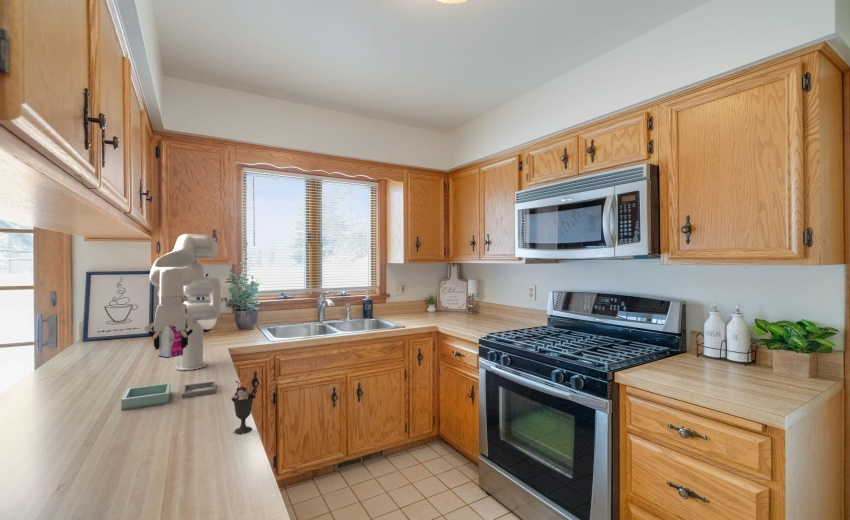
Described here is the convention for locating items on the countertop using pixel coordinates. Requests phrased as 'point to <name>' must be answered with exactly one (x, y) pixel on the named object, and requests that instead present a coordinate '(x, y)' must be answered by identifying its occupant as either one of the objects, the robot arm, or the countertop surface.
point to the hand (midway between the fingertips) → (171, 347)
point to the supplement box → (170, 343)
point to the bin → (146, 396)
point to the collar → (196, 393)
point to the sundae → (243, 406)
